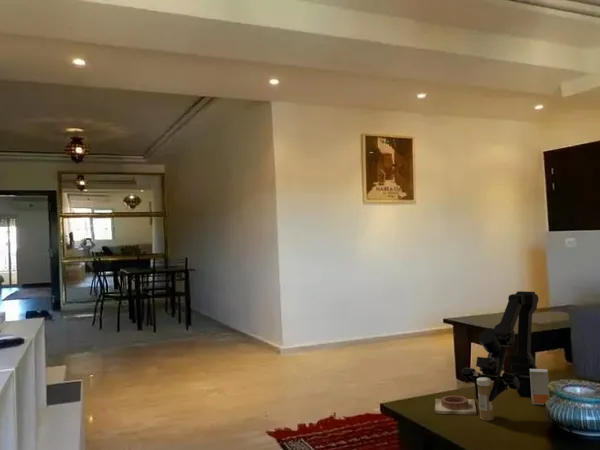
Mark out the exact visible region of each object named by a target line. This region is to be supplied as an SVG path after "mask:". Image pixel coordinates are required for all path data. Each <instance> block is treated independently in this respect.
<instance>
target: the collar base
mask: <svg viewBox="0 0 600 450" xmlns="http://www.w3.org/2000/svg"><path fill="white" fill-rule="evenodd" d="M475 402H476V401H475V398H473V399H472V398H471V399H469V398H468V397H465V396H461V395H446V396H443V397H441V398H435V403H434V414H439V415H440V414H441V415H442V414H443V415H478V414H477V407H476V403H475Z"/></svg>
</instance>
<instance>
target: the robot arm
mask: <svg viewBox="0 0 600 450" xmlns="http://www.w3.org/2000/svg"><path fill="white" fill-rule="evenodd" d="M507 300H508V302H507V304H506V308H505V309H504V313H503V315H502V317H501V320H500V322H499V323H498V324H496V325H495V326H494V327H493V328H491V327H487V329H486V330H484V331H482V332H481V333H480V334H479V335H478V341H479V343H480V344H481V345H482V348H483V349H484V350H485V351H486V352H487V353H488V354H487V356H486V357H482V356H477V357H476V364H475V367H478V368H479V371H480V372H482V373H480V372H478V371H476V369H475V368H473V367H472V368H471V367H463V368H462V370H461V375H462V377H464V379H465V380H466V381H465V382H468V383H470V384H471V383H472V384H474V390H475V392H474V393H475V399H476V400H477V401H479V399H478V386H477V378H481V377H485V378H490V379H491V382H493V385H492V388H491V394H490V397H489V401H490V402H492V403H493V401H494V400H495V399H497V397H498V396H499V395H500V394H501V393H503V392H504V391H508V389H511V390H516V393H517V394H518V395H519V397H531V382H530V369H538V367H537V366H536V360H535V358H534V356H533V354H532V352H531V350H532V349H531V347H532V328H533V327H532V324H533V322H532V321H533V314H534V313H535V312H536V310H537V308H538V303H539V295H538V294H537V293H536V291H521V290H520V291H516V292H515V293H511V294H509V295H508V298H507ZM517 321H518V323H517ZM516 324H517V343H516V344H517V347H516V351H515V353H514V354H512V355H511V363H510V372H511V373H509V372H504V370H505V367H504V365H505V362H506V361H505V360H506V358H509V352H508V350H507V349H506V347H512V346H513V344H514V343H515V341H516V333H515V326H516ZM502 372H503V373H502Z"/></svg>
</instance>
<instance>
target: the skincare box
mask: <svg viewBox="0 0 600 450" xmlns="http://www.w3.org/2000/svg"><path fill="white" fill-rule="evenodd" d="M530 382H531V396H530V397H531V404H532V405H540V406H545V405H544V403H545V402H546V401H547V399H548V398H551V397H550V388H549V389H548V385H549V386H550V383H549V371H548V369H547V368H537V369H530Z"/></svg>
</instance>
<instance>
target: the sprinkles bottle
mask: <svg viewBox="0 0 600 450" xmlns="http://www.w3.org/2000/svg"><path fill="white" fill-rule="evenodd" d="M477 386H478V409H479V419H480V420H483V421H487V422H489V421H493V420H494V410H493V409H494V407H493V401H492V402H490V401H489V397H490V394H491V391H492V388H491V387H492V381H491V379H490V378H485V377H481V378H477Z"/></svg>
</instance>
